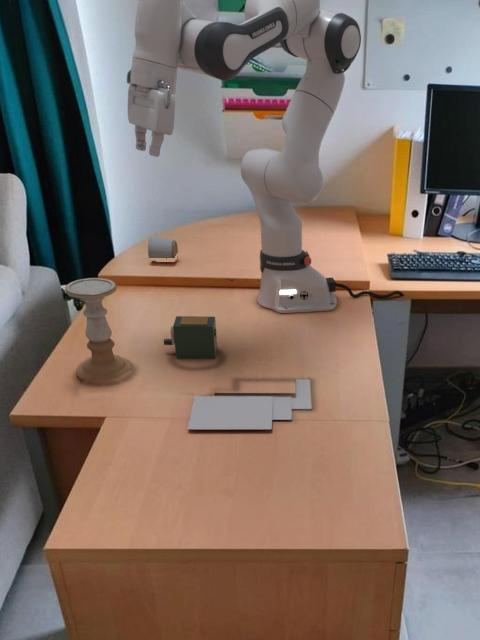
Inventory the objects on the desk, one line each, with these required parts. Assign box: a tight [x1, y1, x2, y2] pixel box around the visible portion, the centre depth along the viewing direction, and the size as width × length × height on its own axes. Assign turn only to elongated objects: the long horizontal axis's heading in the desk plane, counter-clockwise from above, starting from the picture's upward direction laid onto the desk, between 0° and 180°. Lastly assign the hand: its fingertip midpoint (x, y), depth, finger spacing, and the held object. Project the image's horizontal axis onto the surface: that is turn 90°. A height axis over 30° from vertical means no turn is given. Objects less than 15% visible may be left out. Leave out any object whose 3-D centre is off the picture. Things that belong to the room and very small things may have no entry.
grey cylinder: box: [147, 236, 179, 259], centre depth 227 cm, size 11×8×8 cm
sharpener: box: [163, 315, 218, 360], centre depth 168 cm, size 12×6×8 cm, turn 94°
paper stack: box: [186, 378, 313, 431], centre depth 153 cm, size 23×25×1 cm
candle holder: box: [64, 277, 133, 382], centre depth 157 cm, size 12×12×20 cm
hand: (147, 153), depth 151 cm, fingers open, 8 cm apart
